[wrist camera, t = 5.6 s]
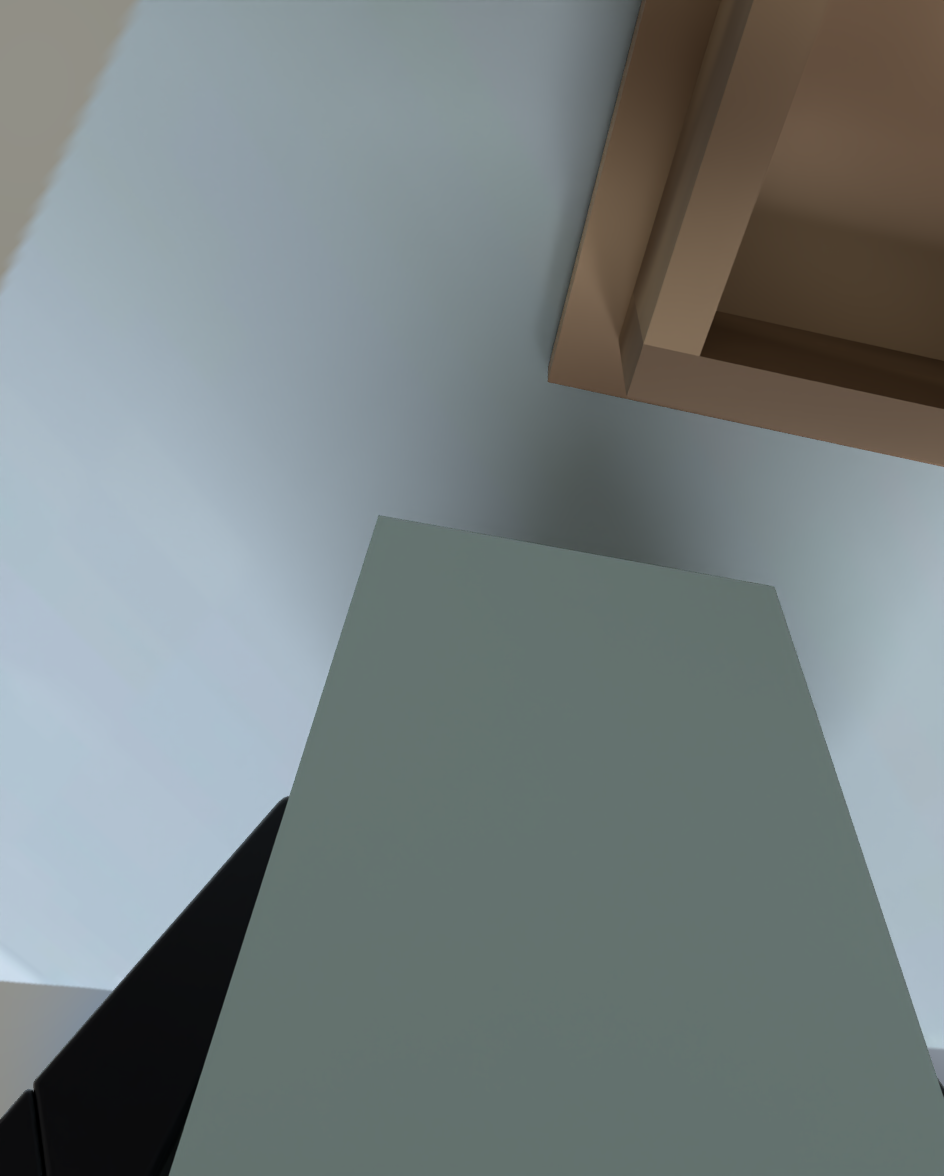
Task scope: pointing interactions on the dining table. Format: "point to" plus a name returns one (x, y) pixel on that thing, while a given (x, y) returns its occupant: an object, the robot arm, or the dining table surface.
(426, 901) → the painted peg
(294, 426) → the dining table surface
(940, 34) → the walnut socket
